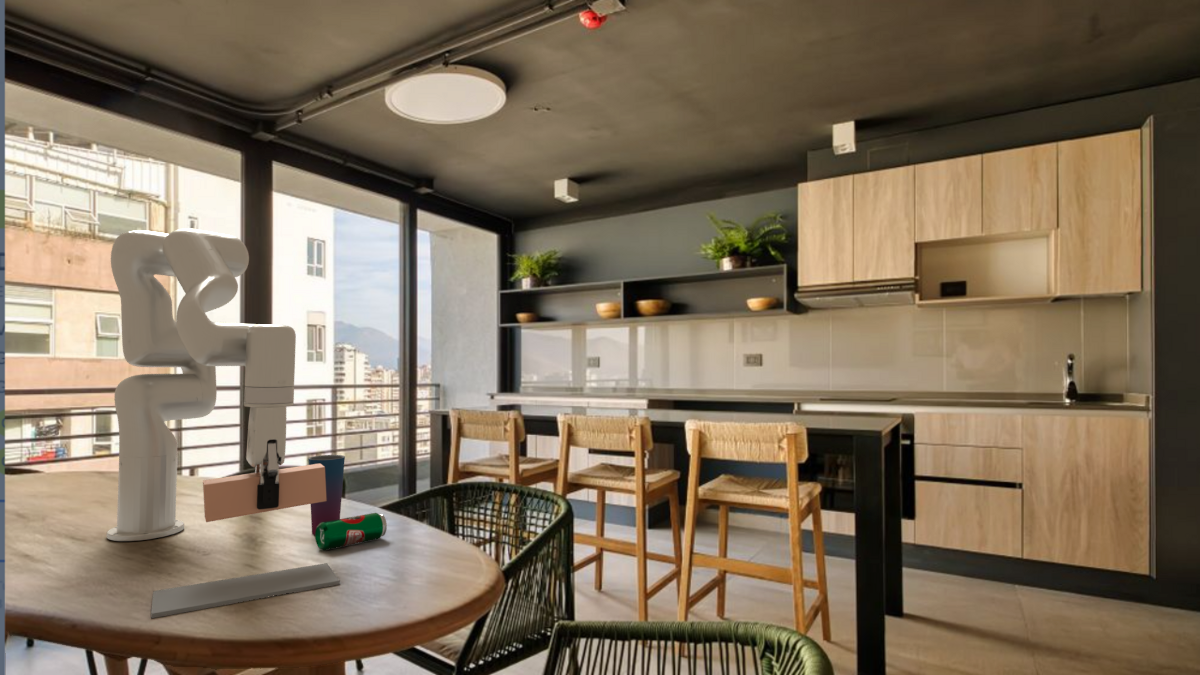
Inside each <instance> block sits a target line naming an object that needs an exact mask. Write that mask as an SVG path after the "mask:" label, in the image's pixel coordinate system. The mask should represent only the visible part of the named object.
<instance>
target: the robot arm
mask: <svg viewBox="0 0 1200 675" xmlns="http://www.w3.org/2000/svg"><path fill="white" fill-rule="evenodd" d="M249 261H250V255H249V251H248V248H247V246H246V245H245V243H244V241H242V240H241V239H240V238H238V237H237V236H234V235H230V234H225V233H218V232H214V231H208V230H202V229H197V228H179V229H175V230H174V231H171V232H169V233H165V232H160V231H159V232H158V231H151V230H140V229H139V230H129V231H128V230H127V231H125V232H122V233H120V234H119V235H118V236H117V237H116V238H115V240H114V242H113V244H112V247H111V252H110V266H111V273H112V276H113V279H114V282H115V285H116V287H117V290H118V293H119V297H120V310H121V311H120V312H121V313H120V314H121V316H120V317H121V318H120V319H121V339H122V340H121V342H122V343H121V344H122V352H123V356H124V359H125V361H126V363H128V364H129V365H131V366H134V367H139V368H181V371H182V373H145V374H144V373H143V374H142V373H141V374H135V375H131V376H128V377H126V378H124V379H123V380H121V381H120V382H119V383H118V384H117V386H116V388H115V390H114V406H115V412H116V417H117V423H118V437H119V438H118V443H119V444H118V483H117V484H118V486H117V487H118V488H117V512H116V513H117V514H116V515H117V516H116V517H117V518H116V519H117V521H116V526H115V527H112V528H110V529H109V530H108V531H107V532H106V538H107V539H108V540H110V541H114V542H135V541H145V540H152V539H157V538H158V539H159V538H164V537H168V536H171V535H175V534H178V533H179V532H181V531H183V530H184V529H185V522H184V521H183V520H180V519H176V516H177V515H176V511H177V479H178V478H177V476H178V442H177V439H176V436H175V435H174V433H173V432H172V431H171V430H170V429H169V427H168V426H167V425H166V422H168V421H177V420H178V421H179V420H191V419H198V418H199V419H200V418H204V417H206V416H209V415H210V414H211V413H212V412H213V411H214V408H215V407H216V406H215V405H216V403H217V395H218V394H217V392H218V391H217V374H216V373H217V371H216V370H217V369H216V368H217V367H244V391H243V392H244V393H243V394H244V395H243V398H244V399H243V407H246V408H249V416H248V423H247V424H248V426H247V429H248V430H247V442H246V455H245V458H246V462H248V464H249V465H250V466H251V467H253V468H254V469H255V471H254V473H257V472H260V485H257V508H258V509H269V508H277V507H278V506H279V469H280V466H282V465H283V464H284V463H285V460H286V459H285V458H286V445H287V444H286V443H287V407H291V406H294V400H295V396H294V395H295V373H296V372H295V369H296V366H295V365H296V344H297V342H296V341H297V340H296V339H297V338H296V336H297V335H296V331H295V328H293V327H291V326H289V325H284V324H260V323H258V324H256V323H243V322H226V321H225V322H224V321H212V320H210V318H209V317H208V315H207V314H206V313H208V312H211V311H214V310H217V309H220V308H221V307H224V306H226V305H227V304H229V303H230V302H231V301H232V300H233V299H234V298H235V297H236V295H237V293H238V291H239V284H238V280H237V279H236V278H237V277H240V276H241V275H243V274H244V273H245V272H246V271H247V269H248V265H249V264H250V263H249ZM155 275H158V276H168V277H176V279H177V281H178V283H179V284H180V287H181V288H182V290H183V292H184V293H185V294H184V295H183V297H182V298H181V300H180V302H179V304H178V307H177V310H176V316H175V317H176V318H175V319H176V321H175V319H174V316H173V300H172V297H171V295H170V293H169V292H168V290H167V289H166V288H165V286H164V285H163V284H162V283H161V282H160V281H159V280H158V279H157V278H156V277H155ZM264 471H265V472H264Z"/></svg>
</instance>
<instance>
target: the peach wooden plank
mask: <svg viewBox="0 0 1200 675" xmlns="http://www.w3.org/2000/svg"><path fill="white" fill-rule="evenodd" d="M264 472H265V471H264ZM257 485H260V472H257V473H255V472H251V473H244V474H237V475H231V476H225V477H217V478H211V479H204V480H202V486H203V487H202V490H203V506H204V508H203V510H204V519H205V522H206V523H210V522H215V521H222V520H226V519H227V520H228V519H233V518H239V517H244V516H250V515H255V514H262V513H266V512H272V511H278V510H283V509H289V508H294V507H300V506H306V505H311V504H312V503H318V502H324V501H326V481H325V467H324V466H323V465H322V464H320V463H319V464H312V465H309V464H307V465H299V466H293V467H287V468H279V506H278V507H277V508H269V509H258V508H257Z"/></svg>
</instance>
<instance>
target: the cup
mask: <svg viewBox="0 0 1200 675" xmlns="http://www.w3.org/2000/svg"><path fill="white" fill-rule="evenodd" d="M307 459H308V460H307V461H308V465H312V464H319V463H320V464H322V465H323V466H324V467H325V481H326V501H324V502H318V503H312V504H310V516H311V517H310V518H311V519H310V520H311V522H310V523H311V534H312V535H314V536H315V532H316V528H317V526H318V525H319V524H320V523H321V522H326V521H332V520H337V519H341V510H342V508H341V507H342V498H343V484H344V472H345V461H346V456H345V455H341V454H323V455H321V454H320V455H313V456H310V457H308V458H307Z"/></svg>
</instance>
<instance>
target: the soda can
mask: <svg viewBox="0 0 1200 675" xmlns="http://www.w3.org/2000/svg"><path fill="white" fill-rule="evenodd" d="M387 526H388V525H387V519H386V517H385V515H384V514H382V513H377V512H371V513H366V514H361V515H356V516H355V515H353V516H349V517H344V518H340V519H337V520H332V521H326V522H321V523H320V524H319V525H318V526H317V528H316V532H315V535H314V538H315V544H316V545H317V546H316V547H318V549H319V550H321V551H329V550H330V551H331V550H335V549H340V548H343V547H347V546H352V545H353V546H354V545H357V544H362V543H368V542H372V541H376V540H379V539H381V538H382V537H384V536H385V535H386V533H387V528H388V527H387Z"/></svg>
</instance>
